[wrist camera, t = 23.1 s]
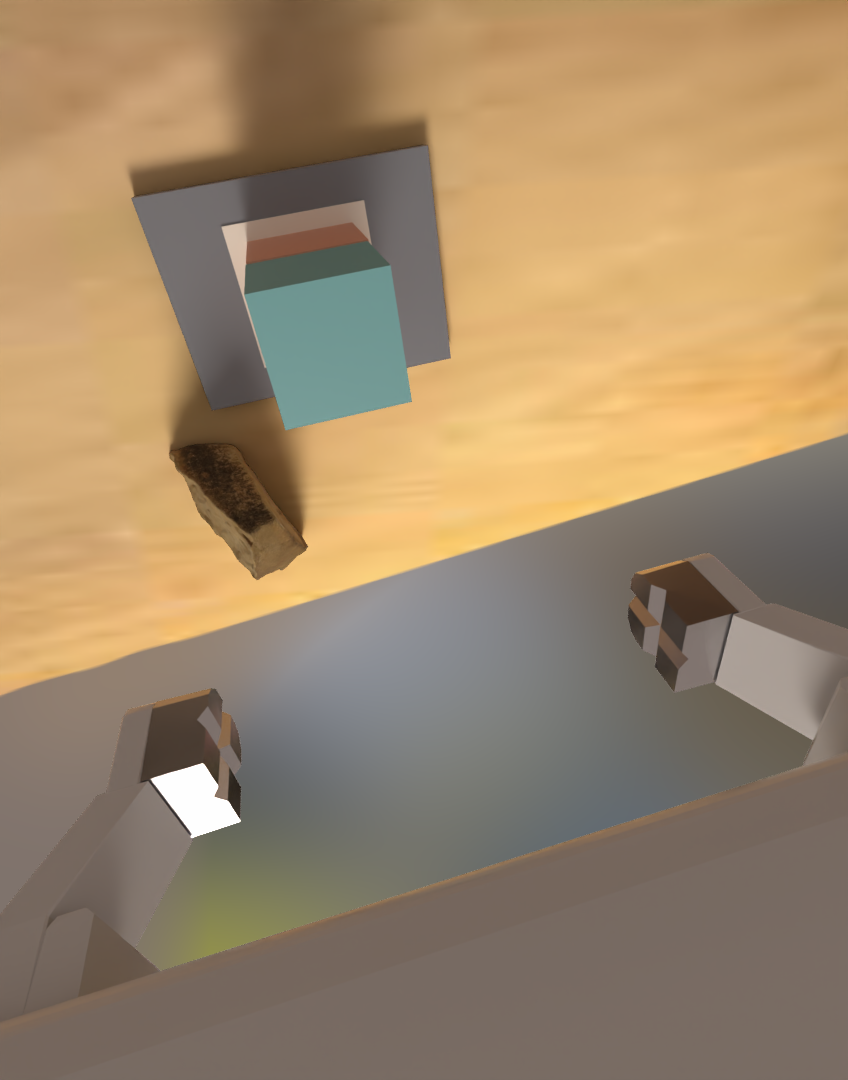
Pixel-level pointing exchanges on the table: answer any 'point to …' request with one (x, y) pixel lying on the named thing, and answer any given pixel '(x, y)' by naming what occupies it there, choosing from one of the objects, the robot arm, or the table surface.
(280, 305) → the teal block
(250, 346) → the grey flat plate
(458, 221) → the table surface
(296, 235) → the terracotta block
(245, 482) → the rock
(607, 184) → the table surface
